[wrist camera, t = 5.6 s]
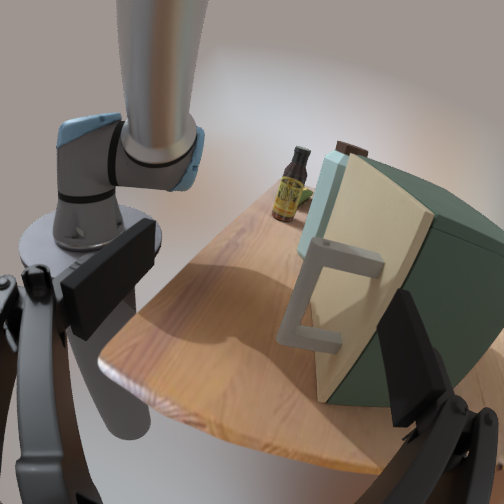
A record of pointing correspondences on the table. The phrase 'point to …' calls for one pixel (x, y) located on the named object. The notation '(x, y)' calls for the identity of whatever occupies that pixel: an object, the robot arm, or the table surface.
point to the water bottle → (326, 193)
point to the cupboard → (441, 291)
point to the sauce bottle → (291, 186)
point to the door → (353, 271)
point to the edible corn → (305, 195)
